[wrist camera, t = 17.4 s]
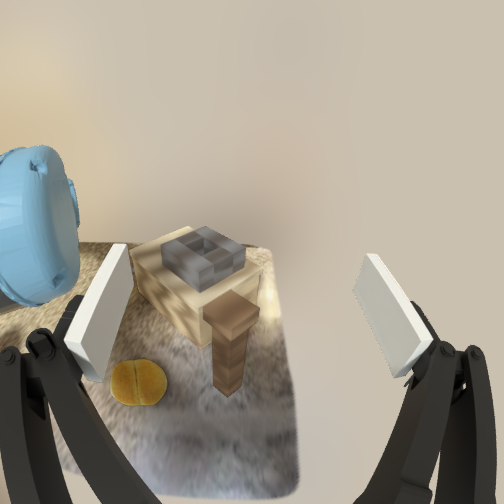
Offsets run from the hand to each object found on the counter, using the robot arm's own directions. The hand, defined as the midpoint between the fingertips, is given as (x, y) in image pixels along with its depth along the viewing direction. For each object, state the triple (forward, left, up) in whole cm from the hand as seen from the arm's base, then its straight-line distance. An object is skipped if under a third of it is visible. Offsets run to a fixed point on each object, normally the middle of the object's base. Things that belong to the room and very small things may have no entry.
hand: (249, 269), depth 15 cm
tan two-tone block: (-25, +16, -29) cm, 42 cm away
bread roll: (-16, -4, -30) cm, 34 cm away
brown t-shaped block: (-7, +7, -30) cm, 31 cm away
